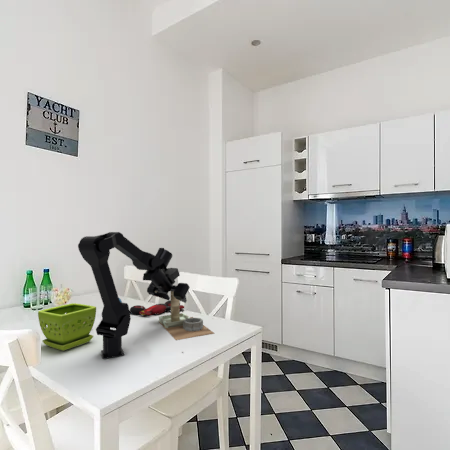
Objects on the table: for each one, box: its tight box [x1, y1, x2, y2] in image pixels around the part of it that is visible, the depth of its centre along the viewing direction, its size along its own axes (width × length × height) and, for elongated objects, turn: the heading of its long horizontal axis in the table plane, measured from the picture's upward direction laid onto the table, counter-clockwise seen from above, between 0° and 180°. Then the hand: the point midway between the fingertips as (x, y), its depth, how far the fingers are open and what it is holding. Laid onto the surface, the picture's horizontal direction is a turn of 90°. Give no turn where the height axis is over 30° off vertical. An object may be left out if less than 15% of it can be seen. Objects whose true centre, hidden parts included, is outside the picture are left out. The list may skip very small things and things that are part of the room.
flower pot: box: [37, 302, 97, 351], centre depth 109 cm, size 14×14×13 cm
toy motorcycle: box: [129, 299, 185, 316], centre depth 150 cm, size 25×5×16 cm
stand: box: [158, 312, 215, 341], centre depth 124 cm, size 26×15×4 cm, turn 26°
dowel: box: [170, 291, 181, 322], centre depth 130 cm, size 4×4×13 cm
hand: (177, 300), depth 131 cm, fingers open, 9 cm apart
